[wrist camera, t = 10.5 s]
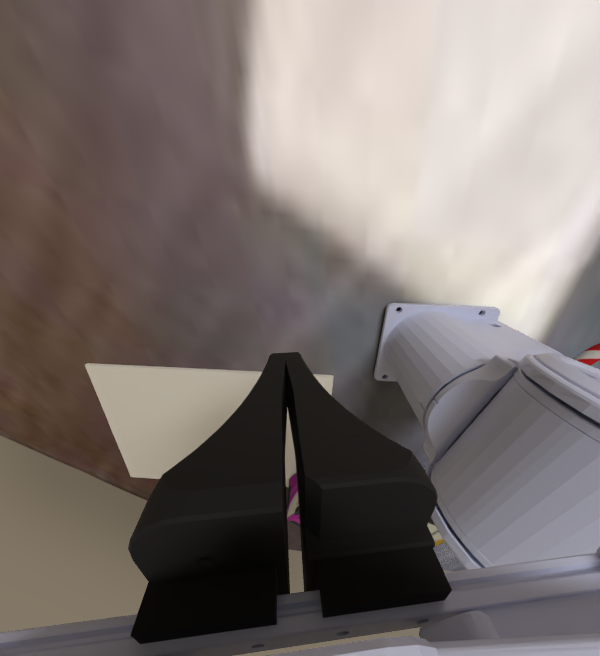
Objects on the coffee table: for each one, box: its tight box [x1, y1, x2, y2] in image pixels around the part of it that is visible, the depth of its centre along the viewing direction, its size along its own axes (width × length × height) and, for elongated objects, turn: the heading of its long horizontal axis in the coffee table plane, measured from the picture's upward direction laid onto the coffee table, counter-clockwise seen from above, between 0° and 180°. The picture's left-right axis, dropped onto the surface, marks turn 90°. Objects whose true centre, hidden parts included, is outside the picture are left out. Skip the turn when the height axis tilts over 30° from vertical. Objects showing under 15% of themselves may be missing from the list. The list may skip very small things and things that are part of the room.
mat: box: [85, 363, 333, 487], centre depth 28 cm, size 26×18×1 cm
